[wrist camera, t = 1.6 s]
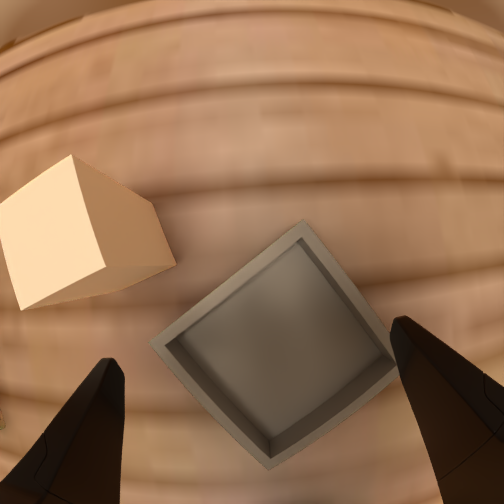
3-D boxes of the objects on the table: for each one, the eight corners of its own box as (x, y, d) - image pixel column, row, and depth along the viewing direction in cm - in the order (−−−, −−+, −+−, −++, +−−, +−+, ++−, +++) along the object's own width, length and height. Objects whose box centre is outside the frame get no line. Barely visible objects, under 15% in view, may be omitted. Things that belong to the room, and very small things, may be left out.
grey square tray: (266, 446, 23) (268, 470, 19) (162, 331, 23) (148, 342, 20) (391, 352, 23) (410, 364, 19) (295, 225, 23) (303, 218, 20)
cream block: (176, 264, 23) (105, 266, 11) (120, 290, 23) (21, 310, 11) (152, 203, 23) (71, 154, 11) (98, 231, 23) (-6, 208, 11)
